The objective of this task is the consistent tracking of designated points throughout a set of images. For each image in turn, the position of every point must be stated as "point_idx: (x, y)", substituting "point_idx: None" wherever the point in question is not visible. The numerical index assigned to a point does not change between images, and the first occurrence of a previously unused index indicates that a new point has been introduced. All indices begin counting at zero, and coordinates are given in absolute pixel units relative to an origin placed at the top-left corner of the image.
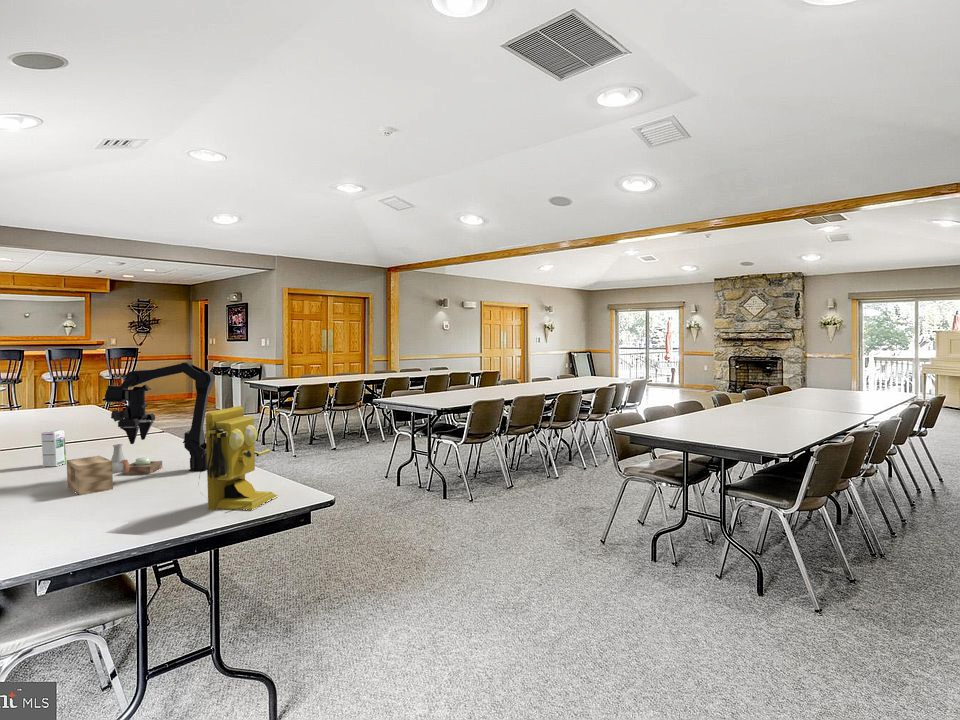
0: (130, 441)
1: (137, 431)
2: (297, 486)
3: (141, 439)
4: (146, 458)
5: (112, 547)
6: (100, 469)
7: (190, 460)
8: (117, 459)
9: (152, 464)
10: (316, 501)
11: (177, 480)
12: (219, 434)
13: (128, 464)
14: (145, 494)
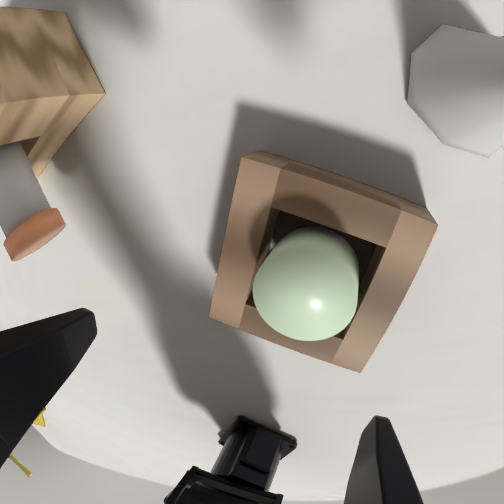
0: (58, 322)
1: (4, 440)
2: (89, 461)
3: (372, 418)
4: (308, 320)
5: None
6: None
7: (244, 453)
8: (454, 79)
9: (261, 330)
10: (43, 436)
11: (111, 364)
12: None
13: (19, 257)
14: (10, 283)
